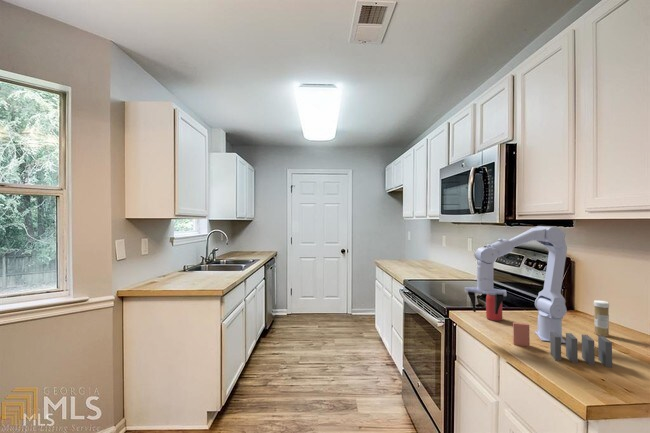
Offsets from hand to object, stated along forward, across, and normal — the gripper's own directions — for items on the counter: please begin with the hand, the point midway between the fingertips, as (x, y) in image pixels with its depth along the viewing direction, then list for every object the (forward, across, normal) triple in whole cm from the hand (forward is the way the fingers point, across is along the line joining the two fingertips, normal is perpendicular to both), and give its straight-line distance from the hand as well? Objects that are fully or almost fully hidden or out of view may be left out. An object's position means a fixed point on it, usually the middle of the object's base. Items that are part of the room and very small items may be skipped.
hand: (485, 312), depth 122 cm
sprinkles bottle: (+10, +44, +18) cm, 49 cm away
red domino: (+10, +12, -2) cm, 16 cm away
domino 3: (+10, +30, -10) cm, 33 cm away
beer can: (+11, +7, +26) cm, 29 cm away
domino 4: (+10, +34, -10) cm, 37 cm away
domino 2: (+10, +25, -10) cm, 29 cm away
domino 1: (+10, +20, -10) cm, 25 cm away
